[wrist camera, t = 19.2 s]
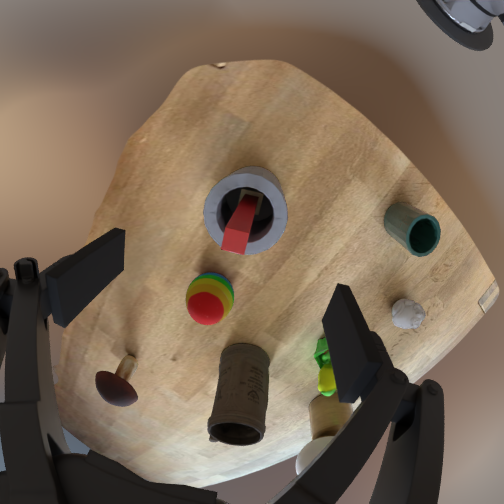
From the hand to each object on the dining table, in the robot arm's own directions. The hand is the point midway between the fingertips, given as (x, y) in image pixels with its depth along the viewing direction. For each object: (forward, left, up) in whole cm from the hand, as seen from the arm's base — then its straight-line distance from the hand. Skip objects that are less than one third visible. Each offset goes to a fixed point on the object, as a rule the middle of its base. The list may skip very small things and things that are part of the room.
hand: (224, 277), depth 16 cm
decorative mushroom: (+45, -20, -30) cm, 58 cm away
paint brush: (0, 0, -29) cm, 29 cm away
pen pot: (-3, +26, -30) cm, 39 cm away
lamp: (+47, +30, -30) cm, 63 cm away
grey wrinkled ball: (+13, +34, -30) cm, 47 cm away
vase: (0, 0, -30) cm, 30 cm away
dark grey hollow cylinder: (+37, +6, -30) cm, 48 cm away
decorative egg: (+18, -3, -30) cm, 35 cm away
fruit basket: (+27, +24, -30) cm, 47 cm away
